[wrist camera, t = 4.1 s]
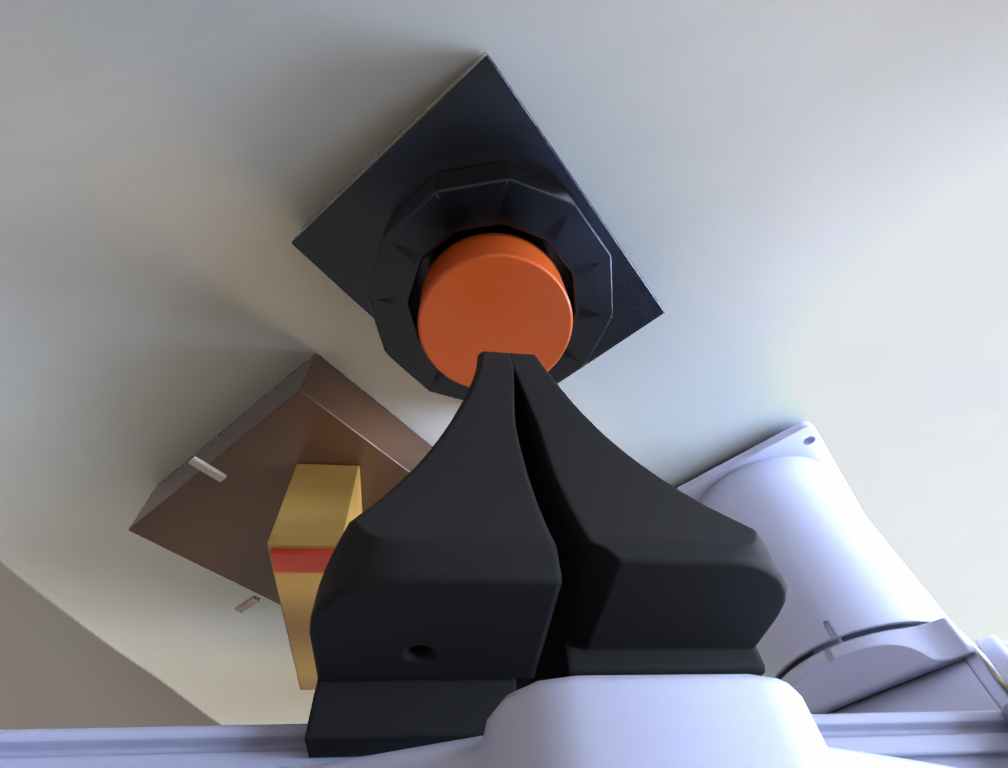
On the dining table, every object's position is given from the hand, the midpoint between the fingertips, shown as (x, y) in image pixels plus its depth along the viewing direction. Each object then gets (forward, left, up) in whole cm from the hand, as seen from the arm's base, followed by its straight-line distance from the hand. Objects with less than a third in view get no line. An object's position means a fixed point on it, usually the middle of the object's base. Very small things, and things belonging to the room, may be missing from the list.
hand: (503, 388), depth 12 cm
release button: (0, 0, -4) cm, 4 cm away
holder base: (-5, +13, -8) cm, 16 cm away
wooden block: (-5, +13, -5) cm, 15 cm away
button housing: (0, 0, -8) cm, 8 cm away
